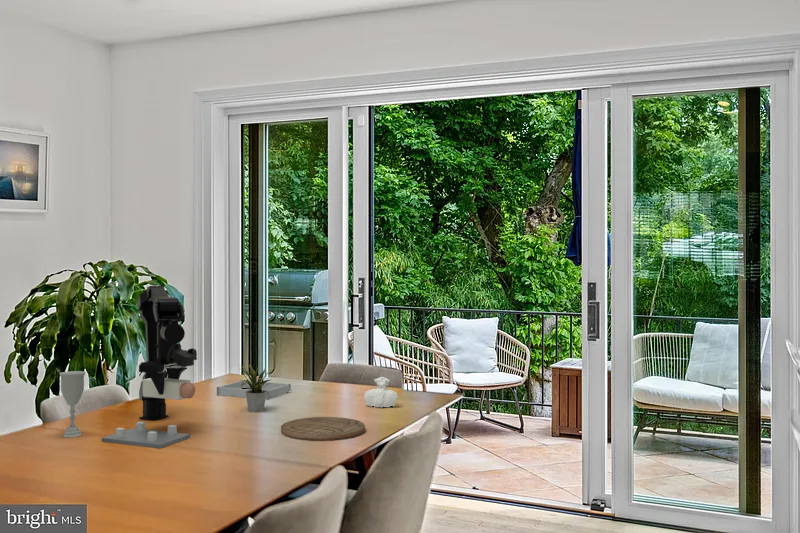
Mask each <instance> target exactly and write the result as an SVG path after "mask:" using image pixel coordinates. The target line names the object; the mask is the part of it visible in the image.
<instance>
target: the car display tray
mask: <svg viewBox="0 0 800 533" xmlns="http://www.w3.org/2000/svg"><path fill="white" fill-rule="evenodd" d="M239 381H240V382H239ZM249 381H250V383H251V384H252V382H251V380H249ZM242 382H243V383H247V382H245V381H244V380H237V381H234V382H231V383H227V384H223V385H220V386H216V396H221V395H223V396H222V397H233V396H236V397H235V398H237V397H238V398H245V397H246V391H250V390H251V389H250V390H249V389H241V388H250V386H249V385H248V384H245V385H242V386H241V384H242ZM260 383H261V382H260ZM268 383H270V384H268ZM267 384H268V385H267ZM291 385H292V383H281V382H271V381H268V382H266V383H265V384H264V386H263V387H262V389H263V388H264V390H265V391H267V393H266V399H265V400H270V399H273V397H274V398H277V397H279V395H280V396H282V395H281V394H283V395H285V394H284V393H286V394H287V392H289V391H291V390H292V388H291V387H292V386H291ZM289 393H290V392H289ZM276 396H277V397H276Z"/></svg>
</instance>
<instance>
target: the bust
mask: <svg viewBox="0 0 800 533" xmlns="http://www.w3.org/2000/svg"><path fill="white" fill-rule="evenodd" d="M373 381H374V383H376V386H377V387H376V388H373V389H369V390H366V391H364V394H363V395H364V396H363V397H364V403H365V404H366V406H368V407H372V406H376V408H383V407H387V408H391V407H390V406H393V407H394V406H396V403H397V401H398V398H399V394H398V392H396V391H394V390H392V389H388V388H387V387H388V386H389V383H390V382H391V379H388V378H387V377H386V376H379V377H378V378H373ZM386 386H387V387H386Z"/></svg>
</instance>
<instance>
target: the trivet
mask: <svg viewBox="0 0 800 533" xmlns="http://www.w3.org/2000/svg"><path fill="white" fill-rule="evenodd" d="M364 431H366V425H365V423H364V422H362V421H360V420H357V419H354V418H348V417H347V418H346V417H341V416H340V417H337V416H336V417H335V416H314V417H313V416H312V417H304V418H303V417H302V418H298V419H297V418H296V419H292V420H289V421H287V422H284V423H283V424H281V425H280V433H281V435H283V436H284V437H287V438H290V439H294V440H299V441H307V442H330V441H332V442H333V441H342V440H348V438H349V439H354V438H356V436H357V437H359V435H360V436H361V435H363V434H364V433H365V432H364ZM362 433H363V434H362Z"/></svg>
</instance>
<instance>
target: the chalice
mask: <svg viewBox="0 0 800 533" xmlns="http://www.w3.org/2000/svg"><path fill="white" fill-rule="evenodd" d="M86 373H87V372H86V371H82V370H75V371H74V370H71V371H70V370H69V371H64V372H62V371H61V372H59V373H58V374H59V376H60V391H61V393H62V394H61V395H62V397H63V398H64V400H65V403H66V404H67V405H68V406H69V407H70V411H69V414H70V417H69V418H68V419H69V421H70V424H69V426H68V427H66V428H65V430H64V433H63V434H62V437H63V438H77V437H80V436H82V432H81V430H80V427H78V426H76V424H75V420H76V417H75V414H76V411H75V406H76V405H79V404H78V403H79V402H80V399H81V398H82V396H83V393H84V390H85V375H86Z"/></svg>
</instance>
